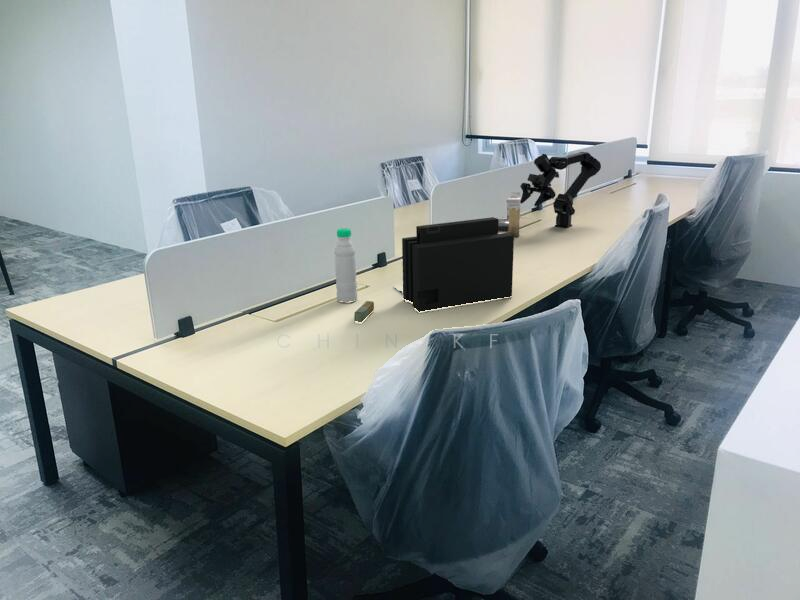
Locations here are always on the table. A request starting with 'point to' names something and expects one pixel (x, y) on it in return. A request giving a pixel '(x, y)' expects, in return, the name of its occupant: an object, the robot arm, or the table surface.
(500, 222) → the turntable platter
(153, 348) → the table surface
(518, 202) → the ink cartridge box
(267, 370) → the table surface
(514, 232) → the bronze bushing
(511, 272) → the game console
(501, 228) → the turntable base
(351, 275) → the water bottle
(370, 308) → the medication box
